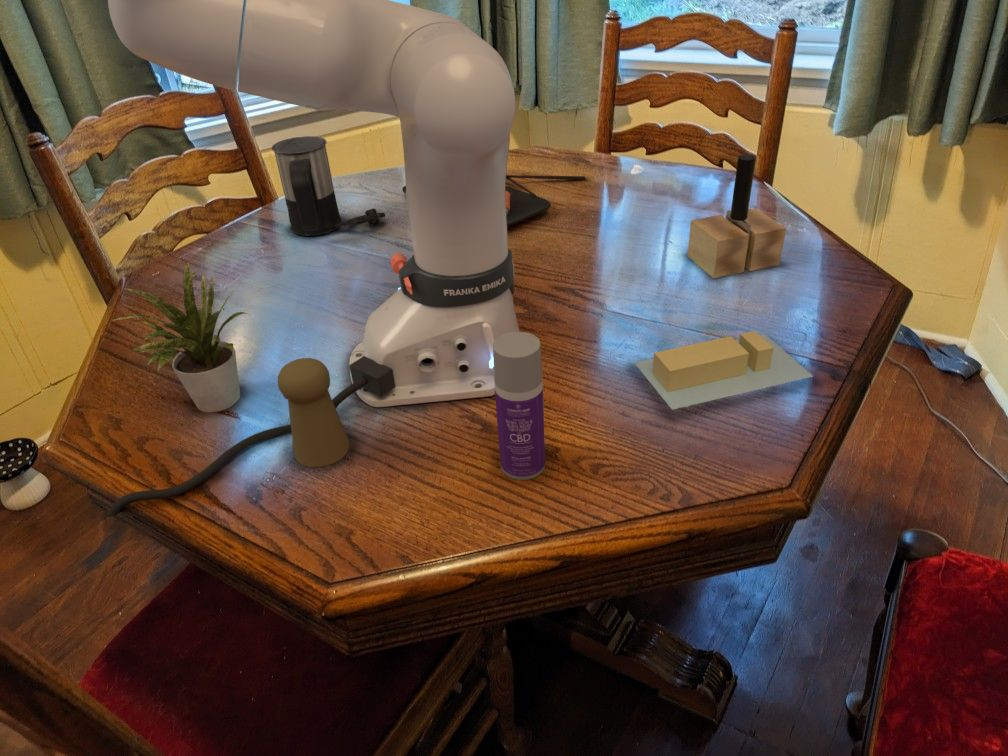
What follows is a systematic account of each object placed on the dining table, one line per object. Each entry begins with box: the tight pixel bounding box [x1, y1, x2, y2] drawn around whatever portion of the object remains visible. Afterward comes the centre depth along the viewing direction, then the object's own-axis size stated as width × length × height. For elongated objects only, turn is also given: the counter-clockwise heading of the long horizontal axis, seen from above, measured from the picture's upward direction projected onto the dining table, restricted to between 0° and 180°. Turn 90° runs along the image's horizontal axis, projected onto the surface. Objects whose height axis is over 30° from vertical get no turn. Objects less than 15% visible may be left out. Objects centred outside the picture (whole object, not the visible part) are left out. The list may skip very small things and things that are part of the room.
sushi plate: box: [402, 174, 586, 227], centre depth 138 cm, size 29×30×4 cm
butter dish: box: [633, 333, 814, 410], centre depth 87 cm, size 18×10×1 cm, turn 106°
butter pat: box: [738, 330, 774, 372], centre depth 86 cm, size 2×4×3 cm, turn 16°
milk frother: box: [270, 135, 386, 237], centre depth 126 cm, size 14×16×15 cm
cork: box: [277, 357, 351, 468], centre depth 77 cm, size 6×6×11 cm
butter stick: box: [653, 335, 749, 392], centre depth 85 cm, size 10×4×3 cm, turn 106°
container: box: [493, 331, 546, 481], centre depth 72 cm, size 5×5×15 cm
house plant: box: [111, 261, 251, 413], centre depth 85 cm, size 14×14×16 cm
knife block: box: [687, 208, 787, 279], centre depth 109 cm, size 11×8×6 cm
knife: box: [725, 153, 757, 248], centre depth 106 cm, size 2×6×16 cm, turn 16°
